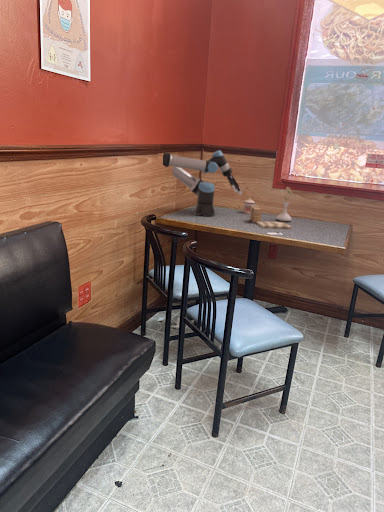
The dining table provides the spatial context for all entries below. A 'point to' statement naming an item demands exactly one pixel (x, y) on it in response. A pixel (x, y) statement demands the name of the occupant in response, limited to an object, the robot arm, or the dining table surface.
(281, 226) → the board
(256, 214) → the block
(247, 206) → the teacup with lid
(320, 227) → the dining table surface
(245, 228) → the dining table surface
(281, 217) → the flower in vase
